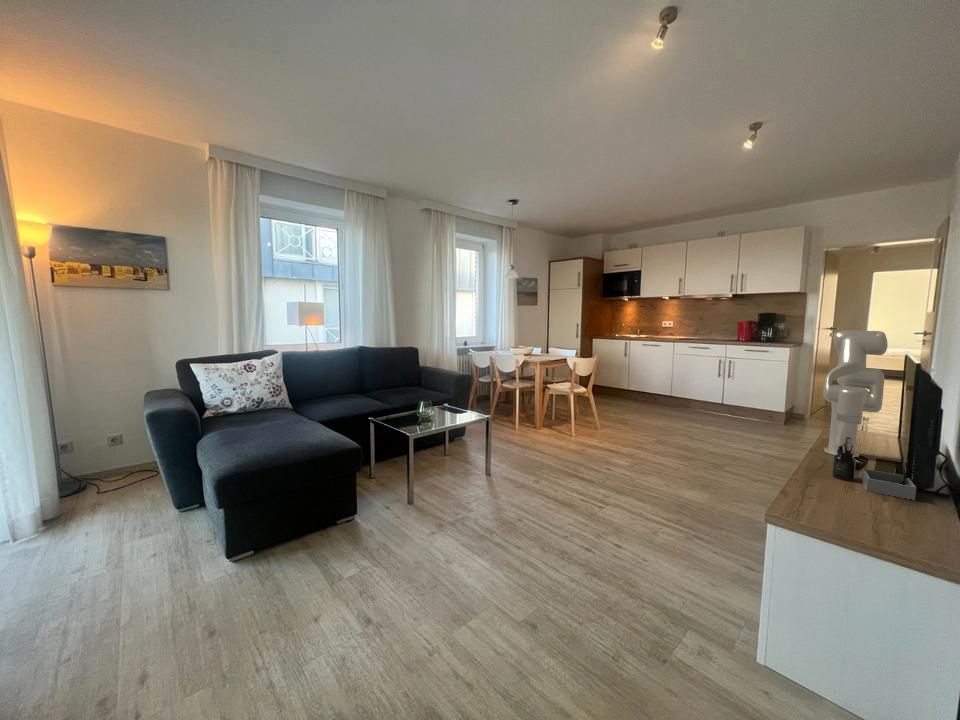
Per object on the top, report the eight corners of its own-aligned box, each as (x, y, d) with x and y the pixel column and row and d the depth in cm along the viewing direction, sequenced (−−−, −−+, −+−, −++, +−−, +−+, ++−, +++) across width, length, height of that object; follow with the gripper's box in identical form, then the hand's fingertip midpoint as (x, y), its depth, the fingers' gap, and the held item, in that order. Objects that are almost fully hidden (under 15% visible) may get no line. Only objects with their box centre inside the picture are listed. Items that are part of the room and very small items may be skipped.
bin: (861, 480, 159) (862, 468, 158) (905, 488, 151) (907, 475, 151) (866, 491, 149) (867, 478, 148) (914, 500, 141) (916, 487, 141)
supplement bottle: (858, 481, 158) (861, 452, 156) (841, 481, 158) (844, 452, 156) (843, 474, 165) (846, 447, 163) (827, 474, 165) (829, 447, 163)
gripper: (833, 413, 167) (830, 452, 169) (838, 421, 154) (834, 463, 155) (857, 416, 163) (853, 455, 164) (865, 424, 149) (860, 467, 151)
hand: (844, 459), depth 160 cm, fingers open, 9 cm apart
